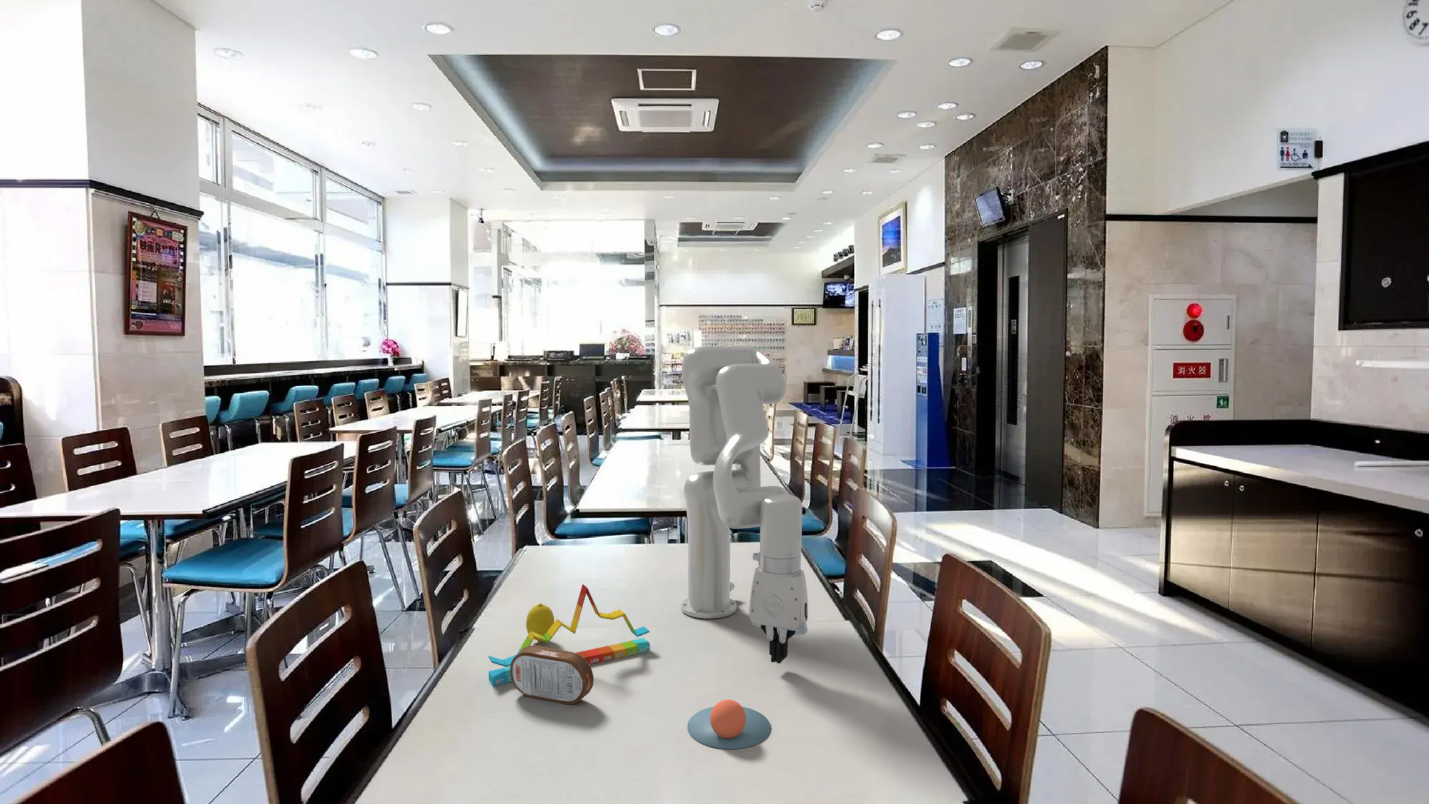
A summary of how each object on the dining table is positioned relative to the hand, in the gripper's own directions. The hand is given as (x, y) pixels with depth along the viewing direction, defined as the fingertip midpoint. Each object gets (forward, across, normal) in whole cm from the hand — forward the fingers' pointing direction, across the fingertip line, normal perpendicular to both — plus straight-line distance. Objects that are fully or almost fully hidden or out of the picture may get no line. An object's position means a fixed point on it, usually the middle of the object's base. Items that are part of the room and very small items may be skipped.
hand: (778, 659), depth 135 cm
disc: (+2, 0, -22) cm, 22 cm away
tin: (+2, -31, -27) cm, 41 cm away
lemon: (+3, -48, -9) cm, 49 cm away
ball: (-1, +1, -25) cm, 25 cm away
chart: (+3, -35, -15) cm, 38 cm away
